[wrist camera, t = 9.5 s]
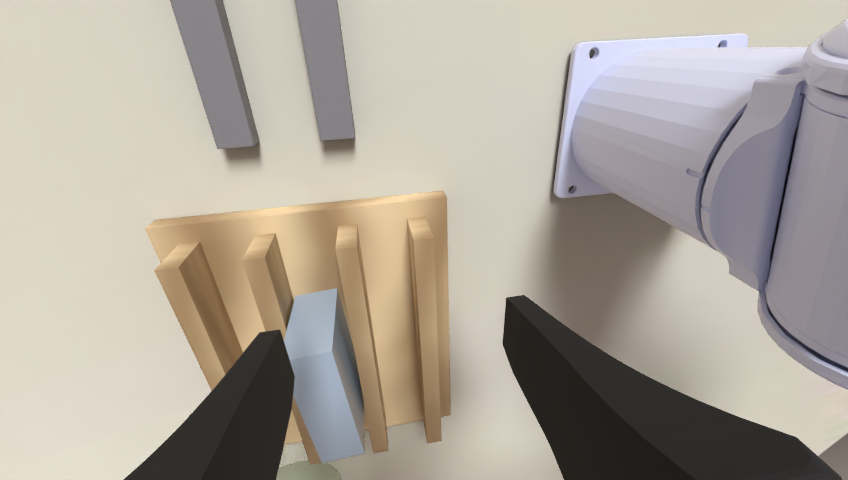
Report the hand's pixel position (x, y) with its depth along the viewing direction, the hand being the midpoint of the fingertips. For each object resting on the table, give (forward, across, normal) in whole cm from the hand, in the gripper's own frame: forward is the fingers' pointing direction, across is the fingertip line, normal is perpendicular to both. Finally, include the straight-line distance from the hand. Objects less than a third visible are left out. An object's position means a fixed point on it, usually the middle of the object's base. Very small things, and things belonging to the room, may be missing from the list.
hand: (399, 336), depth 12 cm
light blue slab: (+9, +4, +8) cm, 13 cm away
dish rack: (+10, +4, +8) cm, 13 cm away
